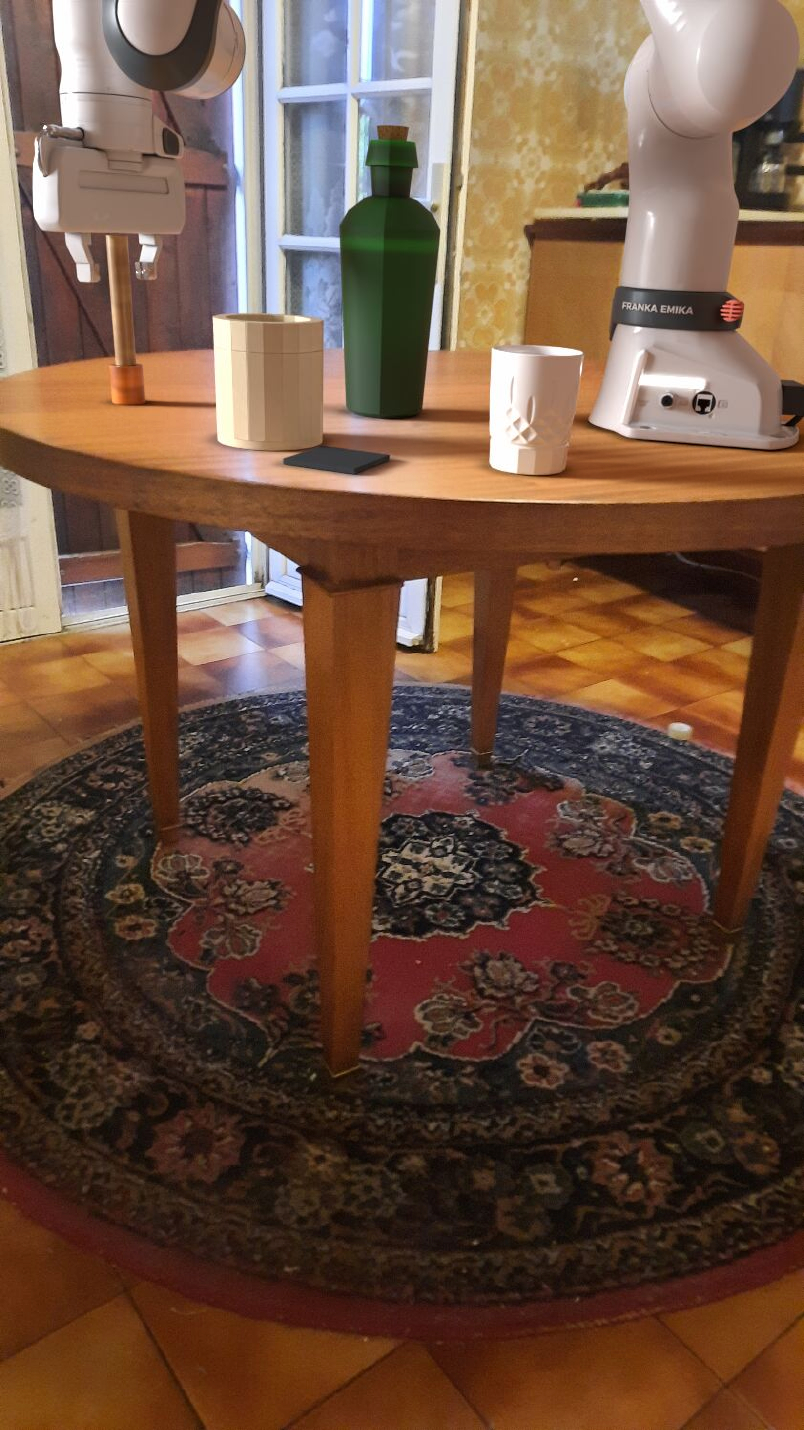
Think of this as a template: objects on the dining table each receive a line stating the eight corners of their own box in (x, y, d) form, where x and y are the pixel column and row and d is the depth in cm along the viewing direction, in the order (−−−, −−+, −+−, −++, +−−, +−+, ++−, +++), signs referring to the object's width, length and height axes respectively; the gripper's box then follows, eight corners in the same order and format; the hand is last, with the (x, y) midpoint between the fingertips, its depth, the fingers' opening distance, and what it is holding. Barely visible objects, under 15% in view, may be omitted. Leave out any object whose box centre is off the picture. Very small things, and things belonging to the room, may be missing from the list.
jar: (340, 438, 100) (342, 319, 96) (288, 455, 92) (287, 325, 87) (254, 426, 104) (251, 311, 99) (196, 442, 96) (190, 317, 91)
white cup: (502, 478, 87) (512, 355, 83) (470, 459, 94) (478, 344, 89) (586, 476, 89) (600, 356, 85) (549, 457, 96) (560, 345, 92)
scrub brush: (152, 402, 115) (141, 236, 108) (131, 406, 112) (119, 235, 105) (126, 398, 116) (113, 234, 109) (105, 402, 113) (91, 234, 106)
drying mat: (390, 460, 92) (390, 454, 92) (354, 474, 86) (354, 468, 86) (321, 451, 94) (322, 445, 94) (283, 464, 89) (282, 458, 88)
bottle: (434, 408, 119) (448, 133, 107) (427, 423, 109) (442, 124, 97) (343, 402, 120) (348, 129, 108) (329, 418, 110) (332, 119, 98)
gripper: (61, 122, 93) (75, 286, 99) (193, 141, 110) (198, 280, 116) (8, 121, 95) (25, 281, 101) (145, 140, 112) (153, 277, 118)
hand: (119, 281), depth 109 cm, fingers open, 8 cm apart
